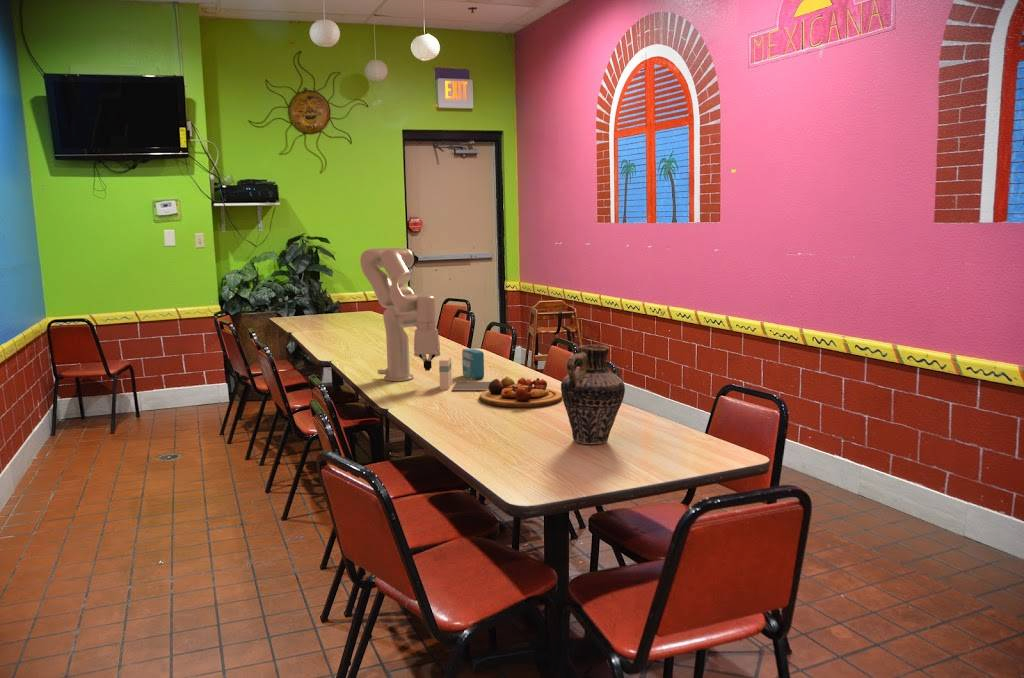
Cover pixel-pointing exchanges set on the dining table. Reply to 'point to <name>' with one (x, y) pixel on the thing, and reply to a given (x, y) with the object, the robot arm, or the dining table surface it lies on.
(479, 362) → the data package
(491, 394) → the wooden plate with food
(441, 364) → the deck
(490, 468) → the dining table surface
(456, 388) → the mat
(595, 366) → the jug
